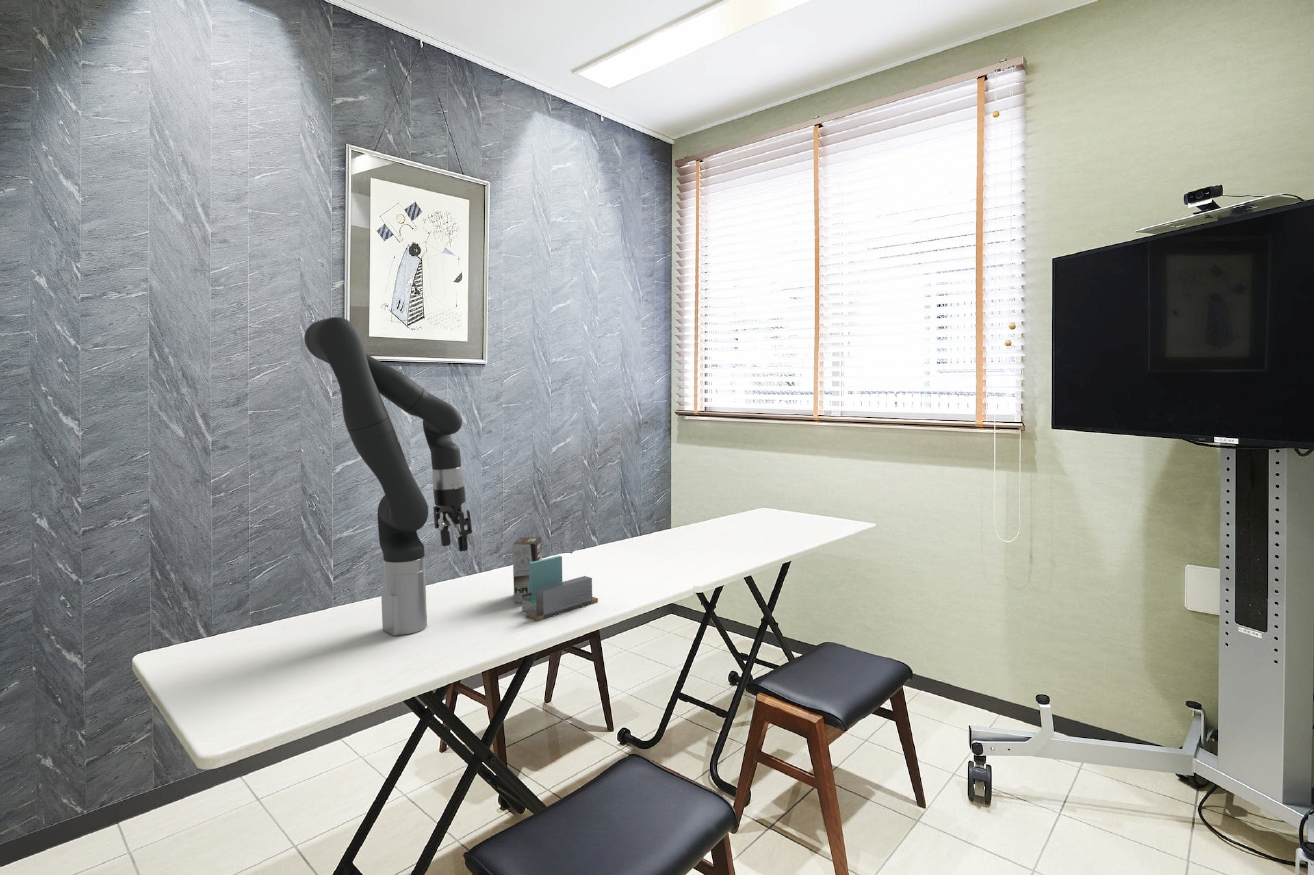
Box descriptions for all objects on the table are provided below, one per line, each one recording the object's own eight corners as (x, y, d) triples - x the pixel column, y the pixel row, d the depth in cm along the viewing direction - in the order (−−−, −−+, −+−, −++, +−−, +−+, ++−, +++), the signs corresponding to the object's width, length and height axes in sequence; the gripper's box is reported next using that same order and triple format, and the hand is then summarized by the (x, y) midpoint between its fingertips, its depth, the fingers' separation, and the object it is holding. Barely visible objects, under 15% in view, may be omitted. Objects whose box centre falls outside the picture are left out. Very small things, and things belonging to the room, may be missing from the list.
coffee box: (537, 602, 175) (535, 543, 174) (513, 602, 175) (511, 543, 174) (543, 592, 184) (542, 536, 183) (521, 592, 184) (519, 536, 183)
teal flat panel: (524, 603, 168) (523, 565, 167) (521, 602, 169) (520, 564, 168) (562, 592, 177) (561, 556, 177) (559, 591, 178) (559, 555, 177)
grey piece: (537, 621, 160) (536, 593, 160) (514, 612, 167) (514, 586, 167) (598, 602, 175) (597, 576, 175) (575, 594, 181) (574, 570, 181)
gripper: (421, 485, 165) (427, 547, 167) (449, 490, 156) (455, 556, 158) (447, 480, 171) (453, 540, 173) (477, 485, 161) (482, 548, 163)
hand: (454, 548), depth 165 cm, fingers open, 8 cm apart
